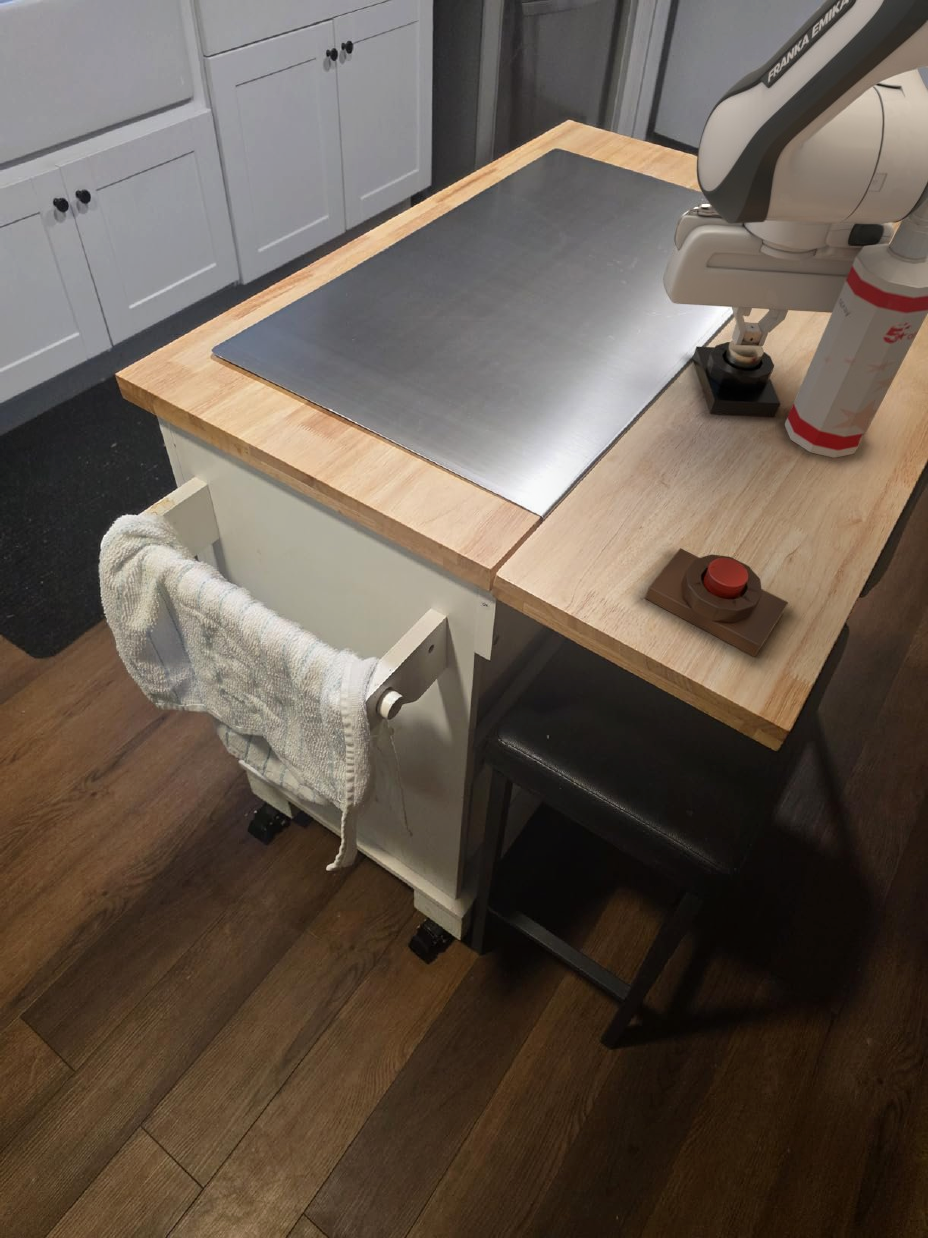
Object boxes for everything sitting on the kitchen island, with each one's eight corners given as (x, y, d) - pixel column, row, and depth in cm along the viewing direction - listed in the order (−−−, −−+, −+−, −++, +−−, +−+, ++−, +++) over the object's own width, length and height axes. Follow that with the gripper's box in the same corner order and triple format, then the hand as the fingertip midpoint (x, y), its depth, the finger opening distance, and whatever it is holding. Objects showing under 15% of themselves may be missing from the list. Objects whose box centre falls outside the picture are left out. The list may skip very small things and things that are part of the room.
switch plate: (753, 362, 98) (763, 334, 95) (775, 417, 91) (786, 388, 89) (692, 359, 97) (700, 331, 95) (709, 413, 91) (719, 385, 88)
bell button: (748, 582, 72) (754, 569, 70) (732, 605, 70) (738, 592, 69) (713, 564, 73) (718, 551, 72) (696, 587, 71) (702, 573, 70)
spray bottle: (801, 401, 94) (907, 157, 75) (868, 429, 91) (996, 183, 72) (775, 437, 89) (880, 186, 70) (845, 467, 87) (974, 216, 68)
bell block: (782, 612, 73) (795, 588, 71) (754, 657, 70) (766, 633, 68) (676, 558, 77) (685, 534, 74) (644, 598, 73) (652, 574, 71)
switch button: (753, 353, 93) (759, 339, 92) (762, 373, 91) (767, 358, 90) (721, 351, 93) (726, 337, 92) (728, 371, 91) (733, 356, 89)
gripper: (690, 217, 77) (653, 354, 88) (912, 231, 78) (850, 365, 89) (677, 185, 81) (643, 320, 92) (889, 199, 83) (832, 331, 93)
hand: (746, 342), depth 90 cm, fingers closed
